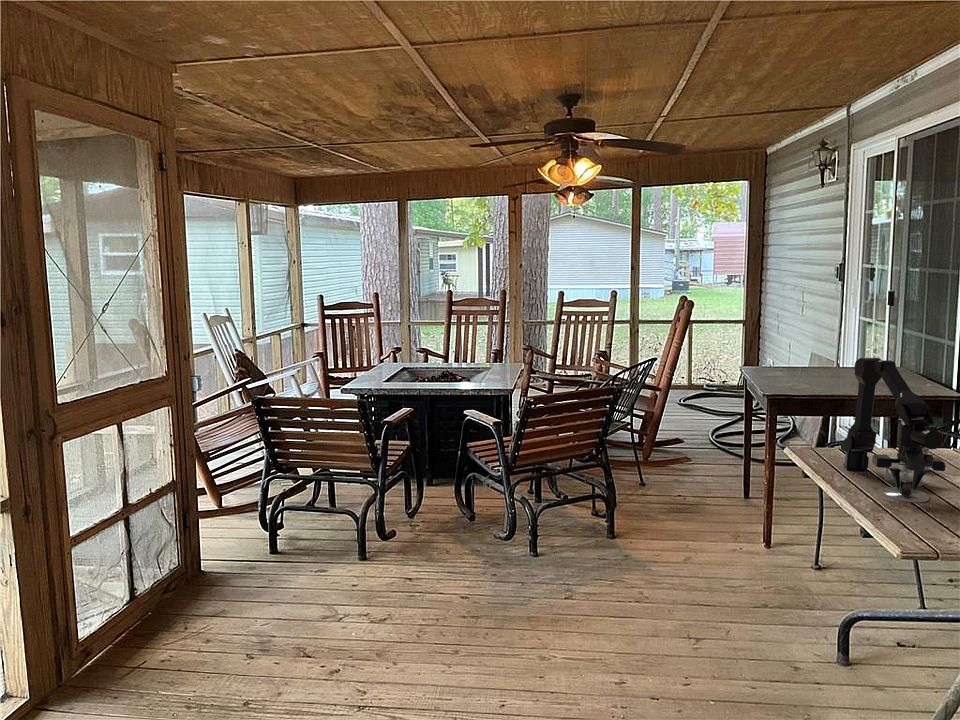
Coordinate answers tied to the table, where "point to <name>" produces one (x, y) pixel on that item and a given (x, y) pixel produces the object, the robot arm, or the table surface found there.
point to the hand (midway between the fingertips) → (905, 489)
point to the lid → (905, 493)
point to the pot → (902, 474)
